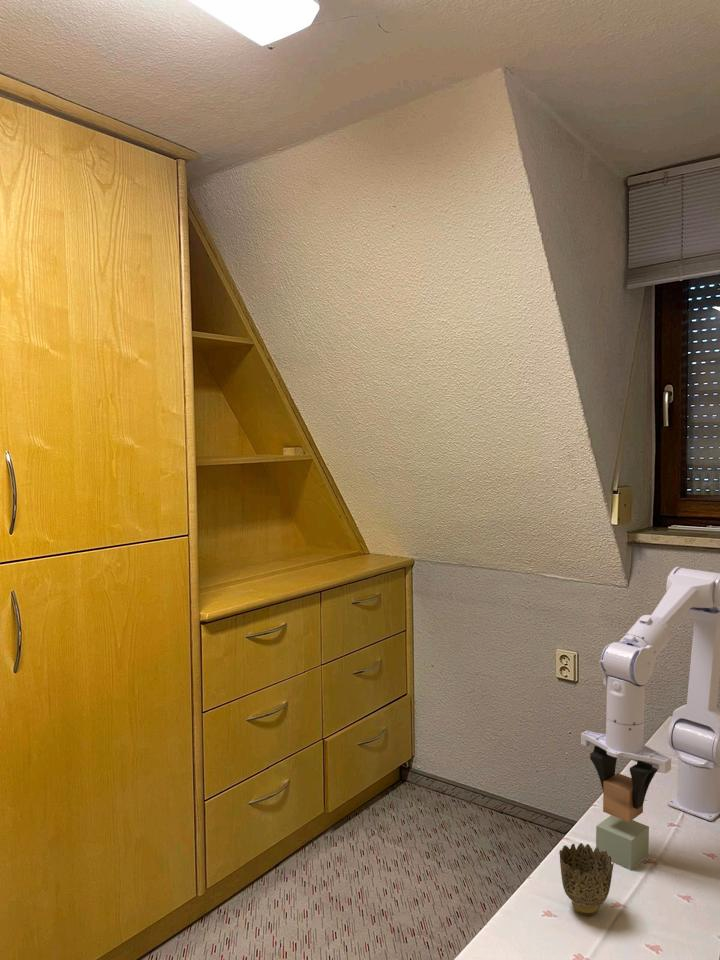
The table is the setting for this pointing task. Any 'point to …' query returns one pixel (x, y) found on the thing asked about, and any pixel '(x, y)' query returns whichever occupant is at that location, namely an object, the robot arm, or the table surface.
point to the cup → (585, 877)
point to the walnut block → (619, 798)
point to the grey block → (623, 841)
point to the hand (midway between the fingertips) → (623, 800)
